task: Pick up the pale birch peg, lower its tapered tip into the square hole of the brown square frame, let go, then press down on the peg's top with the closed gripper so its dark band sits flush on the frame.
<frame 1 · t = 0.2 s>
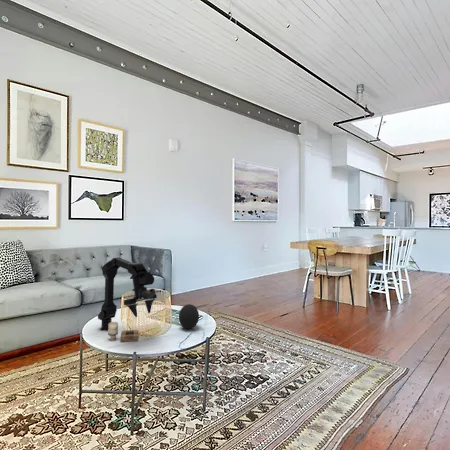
hand: (142, 315, 176), 15 cm above the table, fingers open, 9 cm apart
brown square frame: (129, 338, 182), on the table
decorative egg: (188, 328, 200), on the table
peg: (112, 339, 181), on the table
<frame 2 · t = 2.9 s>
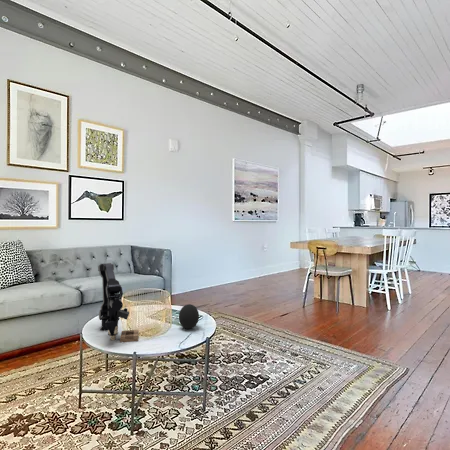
hand: (113, 333, 181), 3 cm above the table, fingers closed on peg, 5 cm apart
peg: (112, 339, 181), on the table, touching gripper
everything else where it was.
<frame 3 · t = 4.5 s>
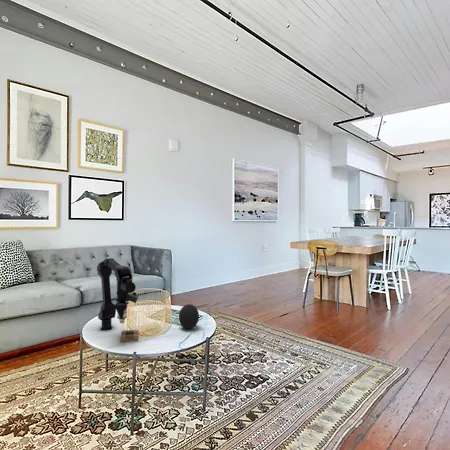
hand: (122, 317, 181), 12 cm above the table, fingers closed on peg, 5 cm apart
peg: (122, 322, 181), point 9 cm above the table, touching gripper
everything else where it was.
when the fingers open (5 cm above the table, at t = 6.4 s): peg drops 2 cm, resting on brown square frame.
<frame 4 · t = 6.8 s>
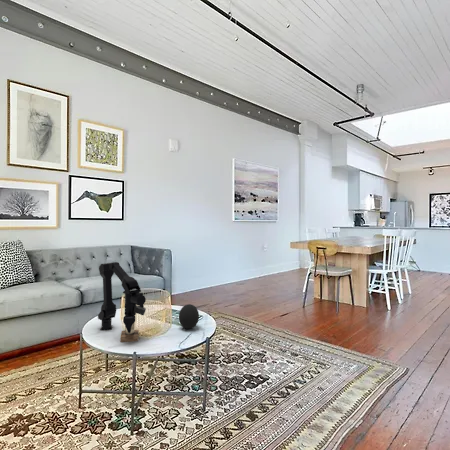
hand: (129, 329, 182), 5 cm above the table, fingers open, 9 cm apart
peg: (129, 338, 182), resting on brown square frame
everything else where it was.
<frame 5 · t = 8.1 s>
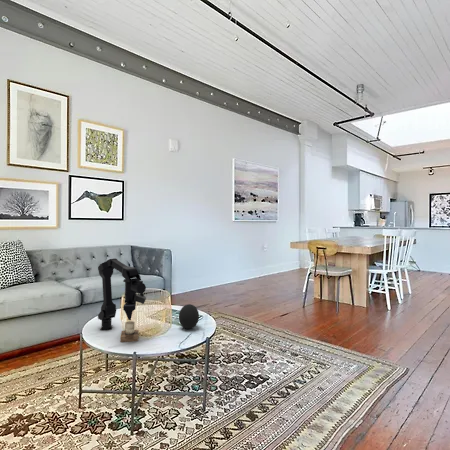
hand: (130, 318, 182), 11 cm above the table, fingers open, 6 cm apart
nothing on the table moved.
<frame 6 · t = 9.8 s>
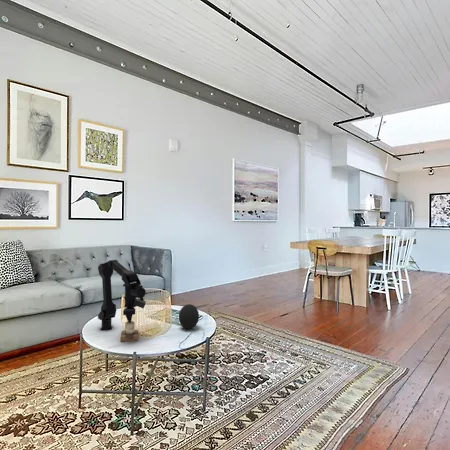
hand: (129, 322, 182), 9 cm above the table, fingers closed, pressing on peg
peg: (129, 338, 182), resting on brown square frame, touching gripper
everything else where it was.
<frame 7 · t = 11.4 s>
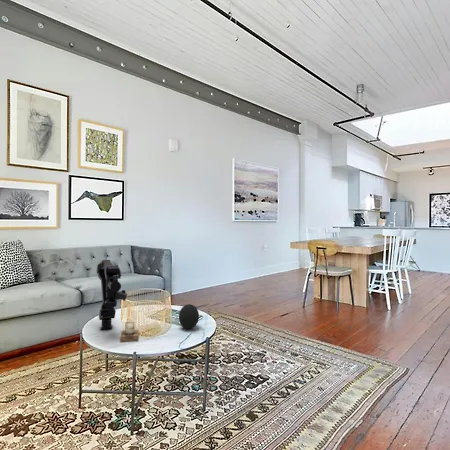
hand: (111, 314, 185), 12 cm above the table, fingers closed
peg: (129, 338, 182), resting on brown square frame
everything else where it was.
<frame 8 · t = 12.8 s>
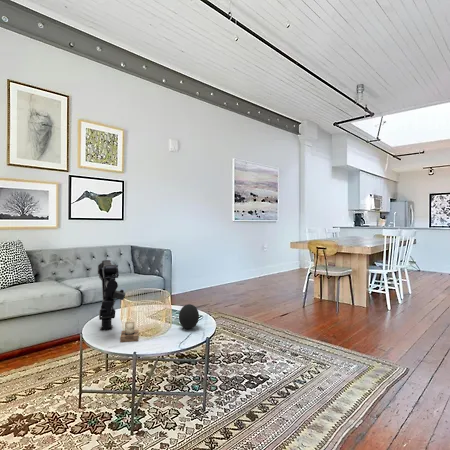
hand: (109, 314, 185), 13 cm above the table, fingers closed
nothing on the table moved.
at the end: peg 0.0 cm off-centre on the brown square frame, point 0.0 cm above the brown square frame's base; peg tilted 0°; the gripper is holding nothing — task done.
